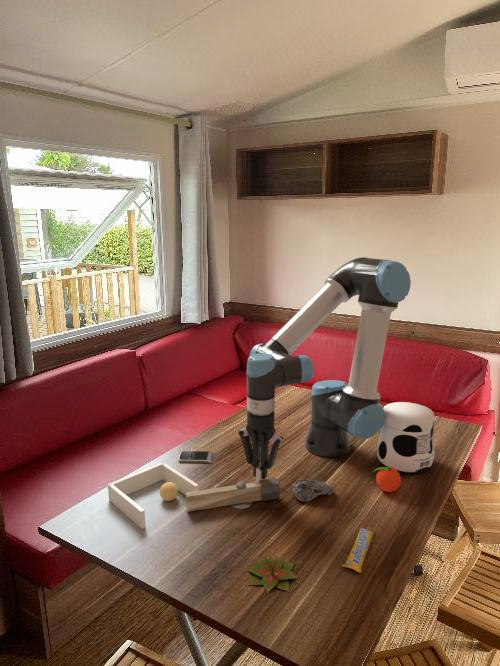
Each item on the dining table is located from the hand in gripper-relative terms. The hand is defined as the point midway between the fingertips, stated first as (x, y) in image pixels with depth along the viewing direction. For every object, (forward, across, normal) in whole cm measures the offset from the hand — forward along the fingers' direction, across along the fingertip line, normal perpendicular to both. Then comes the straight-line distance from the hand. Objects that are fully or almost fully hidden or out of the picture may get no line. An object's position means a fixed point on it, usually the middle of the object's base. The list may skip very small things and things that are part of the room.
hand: (260, 487), depth 139 cm
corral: (+2, -25, -17) cm, 30 cm away
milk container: (+2, +34, +35) cm, 49 cm away
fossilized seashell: (+2, +13, +6) cm, 15 cm away
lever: (+1, -4, -8) cm, 9 cm away
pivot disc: (+2, -3, -7) cm, 7 cm away
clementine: (+2, +32, +18) cm, 36 cm away
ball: (+2, -21, -14) cm, 25 cm away
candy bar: (+2, +32, -11) cm, 34 cm away
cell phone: (+3, -28, +9) cm, 29 cm away
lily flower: (+2, +16, -28) cm, 32 cm away
